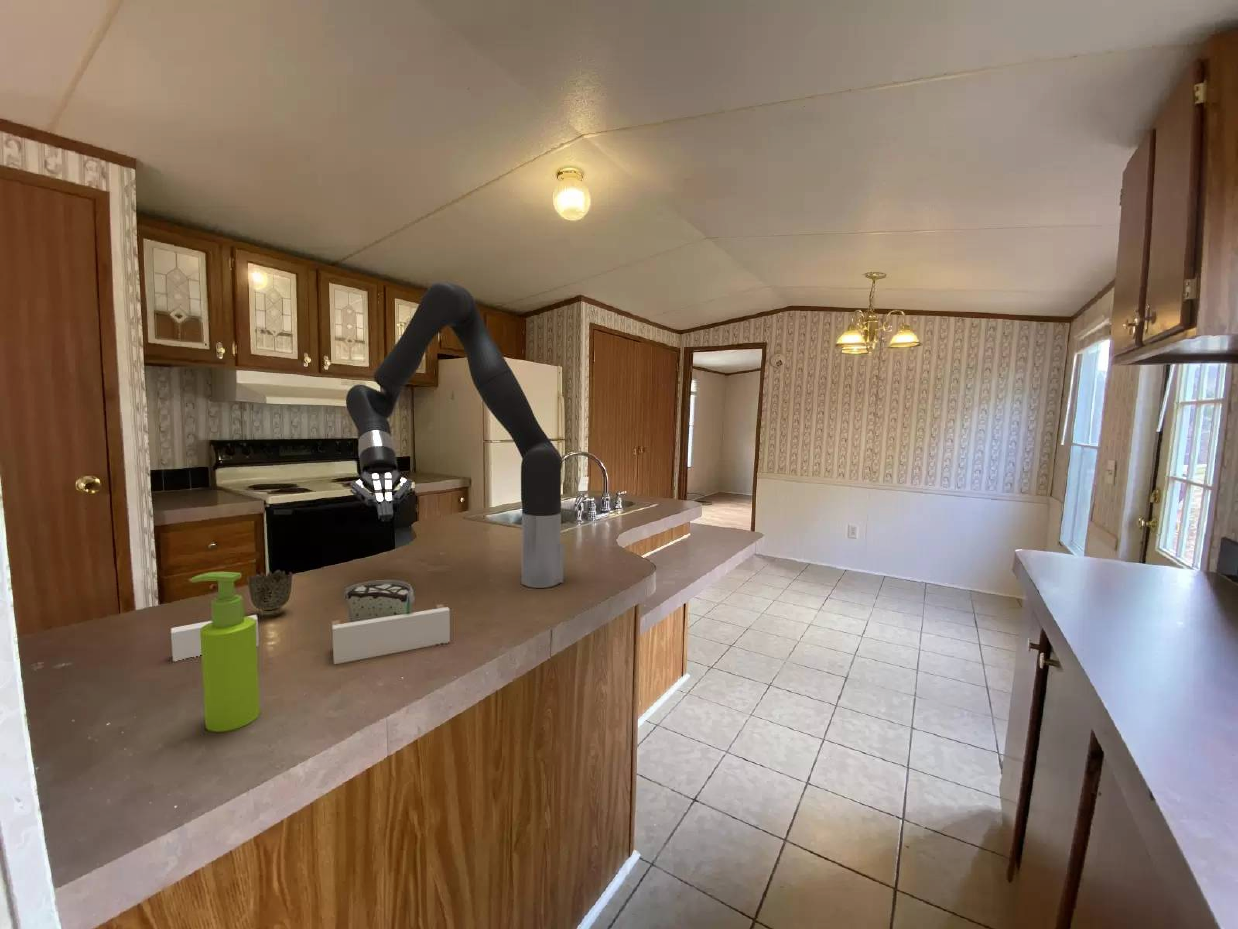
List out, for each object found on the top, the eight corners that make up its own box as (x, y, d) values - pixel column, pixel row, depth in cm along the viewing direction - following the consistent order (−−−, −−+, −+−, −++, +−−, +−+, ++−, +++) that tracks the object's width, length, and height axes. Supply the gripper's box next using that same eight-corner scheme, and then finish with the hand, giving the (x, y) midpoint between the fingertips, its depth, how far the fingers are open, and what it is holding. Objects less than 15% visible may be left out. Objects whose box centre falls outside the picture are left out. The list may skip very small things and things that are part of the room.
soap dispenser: (216, 707, 74) (208, 566, 72) (268, 706, 75) (262, 567, 73) (186, 732, 68) (176, 581, 66) (243, 731, 69) (235, 581, 67)
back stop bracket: (442, 629, 101) (442, 598, 101) (449, 642, 96) (449, 610, 96) (332, 649, 92) (331, 615, 92) (334, 664, 87) (332, 629, 86)
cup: (302, 612, 108) (300, 573, 107) (264, 625, 101) (262, 584, 100) (278, 605, 111) (276, 567, 110) (240, 617, 104) (238, 577, 103)
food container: (427, 632, 100) (426, 580, 99) (411, 647, 94) (410, 592, 93) (364, 628, 101) (362, 577, 100) (344, 643, 95) (343, 588, 94)
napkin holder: (145, 670, 85) (143, 635, 84) (200, 638, 96) (199, 607, 95) (241, 672, 85) (240, 637, 84) (285, 640, 96) (284, 610, 95)
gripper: (345, 445, 115) (351, 511, 106) (410, 443, 122) (421, 506, 112) (344, 467, 120) (350, 532, 111) (407, 464, 127) (417, 525, 118)
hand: (386, 519), depth 112 cm, fingers closed
